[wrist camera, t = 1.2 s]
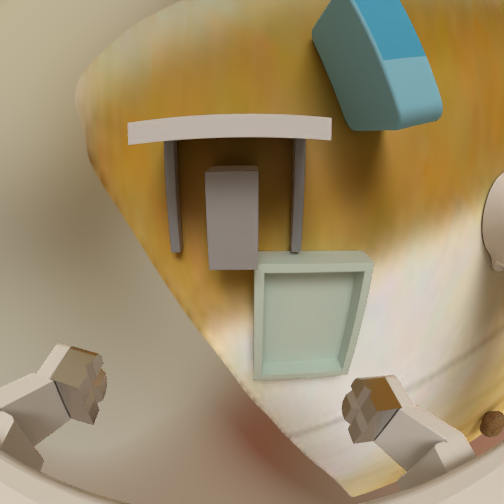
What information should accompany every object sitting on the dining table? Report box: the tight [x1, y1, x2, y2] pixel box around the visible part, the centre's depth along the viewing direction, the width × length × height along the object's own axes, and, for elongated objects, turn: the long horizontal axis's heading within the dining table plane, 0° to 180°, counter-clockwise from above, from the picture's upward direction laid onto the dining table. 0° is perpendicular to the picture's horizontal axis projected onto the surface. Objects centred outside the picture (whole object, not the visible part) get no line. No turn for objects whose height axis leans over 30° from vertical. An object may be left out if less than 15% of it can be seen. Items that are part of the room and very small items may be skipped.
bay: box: [128, 114, 332, 252], centre depth 25 cm, size 14×13×11 cm
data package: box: [312, 0, 443, 131], centre depth 19 cm, size 12×4×12 cm, turn 21°
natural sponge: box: [480, 411, 504, 437], centre depth 49 cm, size 9×9×10 cm
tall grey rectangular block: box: [205, 165, 259, 270], centre depth 28 cm, size 4×9×6 cm, turn 0°
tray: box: [253, 251, 374, 380], centre depth 34 cm, size 13×17×4 cm
